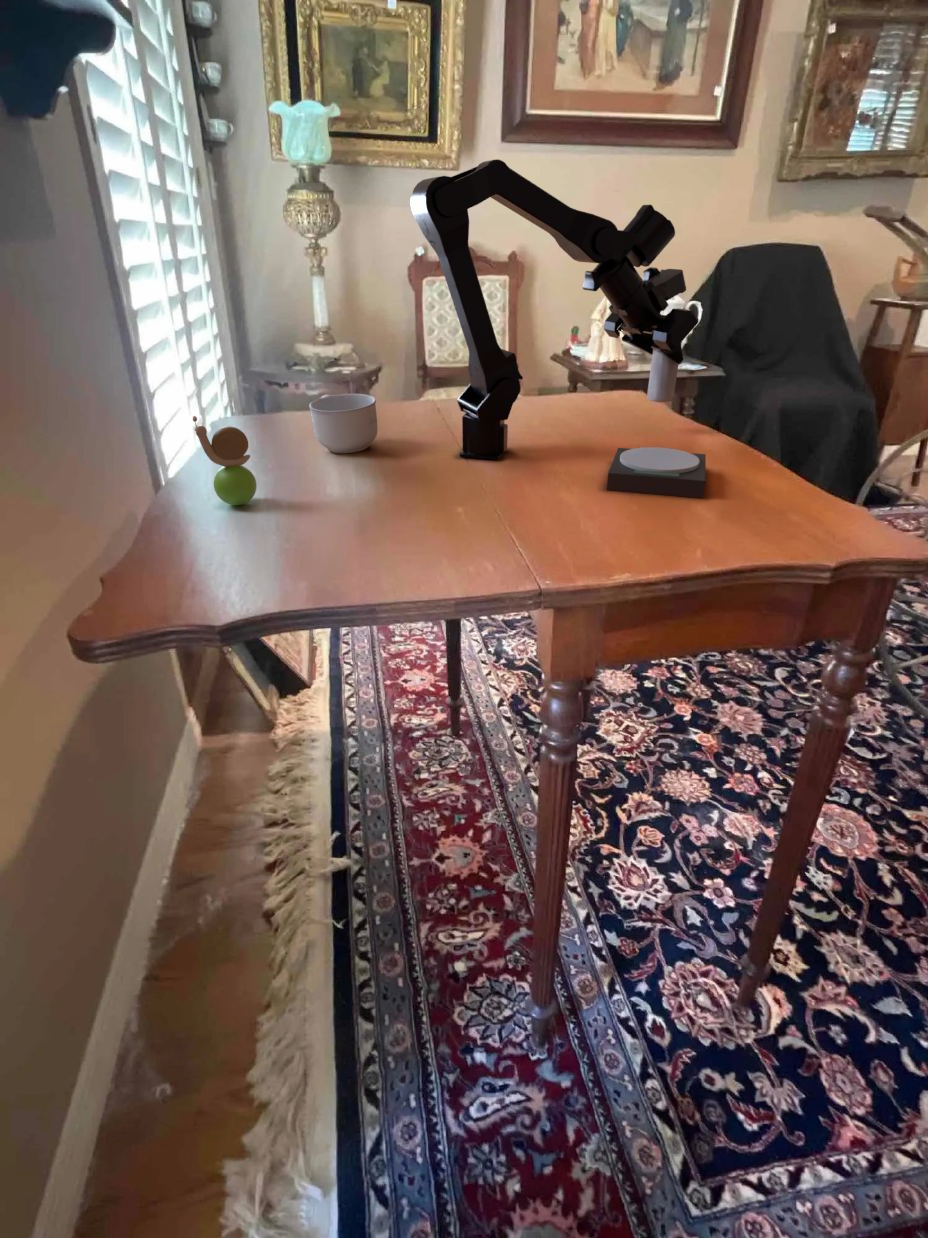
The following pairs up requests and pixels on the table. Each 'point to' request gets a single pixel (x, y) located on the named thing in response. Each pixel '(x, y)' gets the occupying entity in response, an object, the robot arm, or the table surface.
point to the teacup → (344, 421)
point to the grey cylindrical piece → (662, 378)
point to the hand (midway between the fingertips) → (672, 359)
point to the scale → (658, 472)
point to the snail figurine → (229, 463)
